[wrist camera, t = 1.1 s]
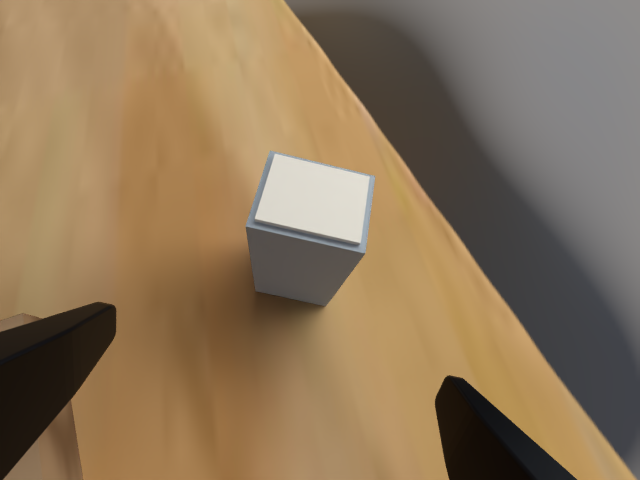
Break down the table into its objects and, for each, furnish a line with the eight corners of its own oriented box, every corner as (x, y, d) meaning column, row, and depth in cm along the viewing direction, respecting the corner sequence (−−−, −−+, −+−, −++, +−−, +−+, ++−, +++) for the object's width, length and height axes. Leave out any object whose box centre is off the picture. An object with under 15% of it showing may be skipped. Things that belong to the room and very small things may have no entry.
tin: (325, 306, 22) (366, 251, 13) (255, 291, 22) (245, 223, 12) (334, 254, 24) (376, 173, 14) (269, 239, 23) (269, 147, 14)
